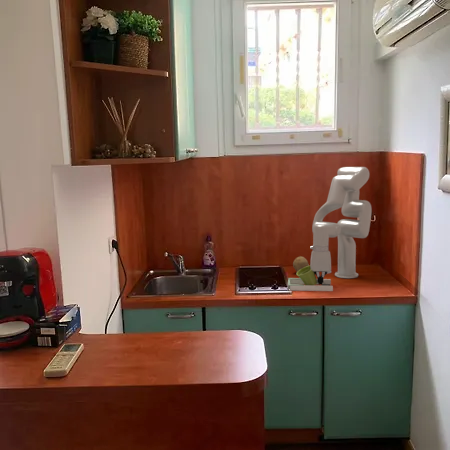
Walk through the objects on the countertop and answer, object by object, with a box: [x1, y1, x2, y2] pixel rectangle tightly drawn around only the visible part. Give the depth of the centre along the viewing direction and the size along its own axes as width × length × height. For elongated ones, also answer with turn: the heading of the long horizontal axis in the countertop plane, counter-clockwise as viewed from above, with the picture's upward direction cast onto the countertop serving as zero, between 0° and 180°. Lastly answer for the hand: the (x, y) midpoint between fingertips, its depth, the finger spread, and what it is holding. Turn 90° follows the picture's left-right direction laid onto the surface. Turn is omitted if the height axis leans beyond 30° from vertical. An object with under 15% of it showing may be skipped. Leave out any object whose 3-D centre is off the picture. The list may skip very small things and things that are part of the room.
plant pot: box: [296, 265, 318, 285], centre depth 237 cm, size 9×9×9 cm
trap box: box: [287, 277, 334, 292], centre depth 238 cm, size 13×22×3 cm, turn 82°
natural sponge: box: [292, 255, 310, 273], centre depth 265 cm, size 9×9×10 cm
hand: (320, 284), depth 237 cm, fingers closed
